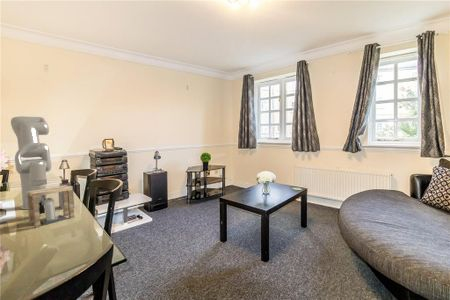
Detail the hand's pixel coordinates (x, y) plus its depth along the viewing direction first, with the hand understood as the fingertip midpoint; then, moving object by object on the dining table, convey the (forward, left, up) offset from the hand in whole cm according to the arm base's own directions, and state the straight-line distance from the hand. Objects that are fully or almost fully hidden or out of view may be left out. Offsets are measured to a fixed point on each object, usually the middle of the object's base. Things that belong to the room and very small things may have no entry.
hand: (41, 213), depth 141 cm
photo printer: (+15, 0, -2) cm, 15 cm away
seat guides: (+17, 0, -1) cm, 17 cm away
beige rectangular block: (-6, +16, -2) cm, 17 cm away
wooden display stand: (+17, 0, -1) cm, 17 cm away
